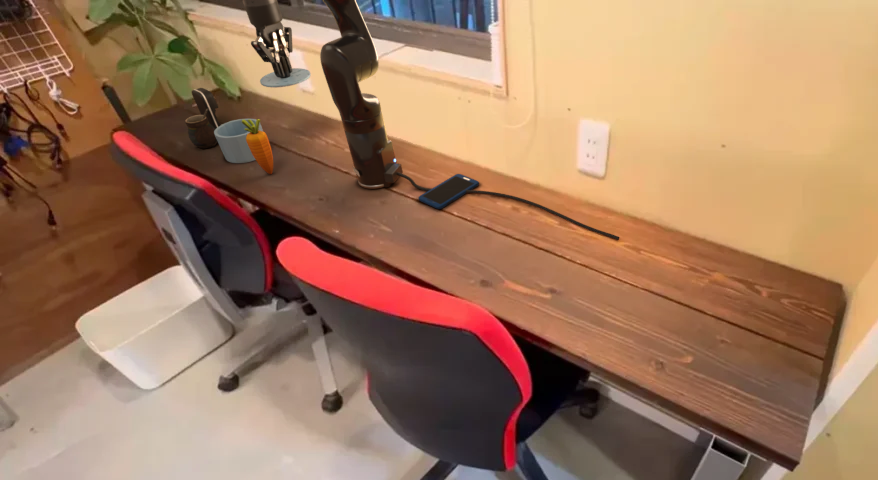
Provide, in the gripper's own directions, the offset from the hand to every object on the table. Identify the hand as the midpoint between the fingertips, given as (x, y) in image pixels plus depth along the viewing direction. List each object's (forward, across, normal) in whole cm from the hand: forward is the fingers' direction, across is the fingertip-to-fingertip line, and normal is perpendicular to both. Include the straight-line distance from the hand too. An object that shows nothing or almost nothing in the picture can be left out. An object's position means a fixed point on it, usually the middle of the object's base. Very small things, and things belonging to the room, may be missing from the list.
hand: (284, 74), depth 134 cm
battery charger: (+19, +4, +34) cm, 39 cm away
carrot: (+19, -18, -1) cm, 26 cm away
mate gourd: (+19, -7, +28) cm, 35 cm away
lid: (+1, 0, 0) cm, 1 cm away
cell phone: (+19, -17, -50) cm, 56 cm away
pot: (+19, -9, +13) cm, 25 cm away
